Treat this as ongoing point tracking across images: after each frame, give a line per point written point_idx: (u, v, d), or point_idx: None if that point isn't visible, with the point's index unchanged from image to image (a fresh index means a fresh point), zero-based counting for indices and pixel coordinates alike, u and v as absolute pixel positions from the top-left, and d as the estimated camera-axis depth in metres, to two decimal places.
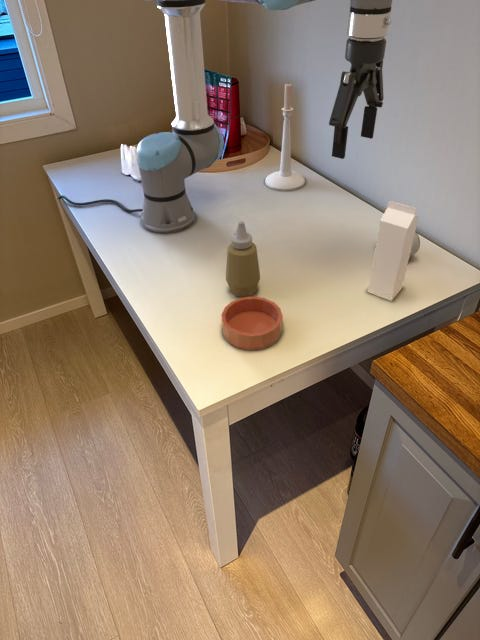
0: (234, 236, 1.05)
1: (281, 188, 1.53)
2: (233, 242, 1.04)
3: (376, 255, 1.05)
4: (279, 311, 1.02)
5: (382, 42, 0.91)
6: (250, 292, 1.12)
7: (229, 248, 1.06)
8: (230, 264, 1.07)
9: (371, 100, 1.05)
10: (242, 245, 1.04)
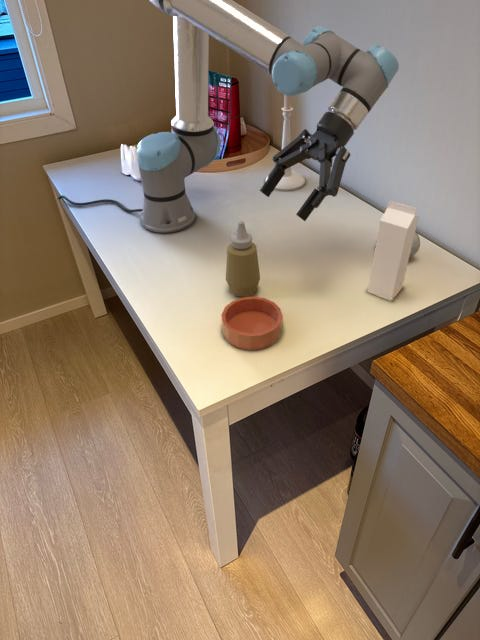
0: (234, 236, 1.05)
1: (281, 188, 1.53)
2: (233, 242, 1.04)
3: (376, 255, 1.05)
4: (279, 311, 1.02)
5: None
6: (250, 292, 1.12)
7: (229, 248, 1.06)
8: (230, 264, 1.07)
9: (287, 164, 1.09)
10: (242, 245, 1.04)
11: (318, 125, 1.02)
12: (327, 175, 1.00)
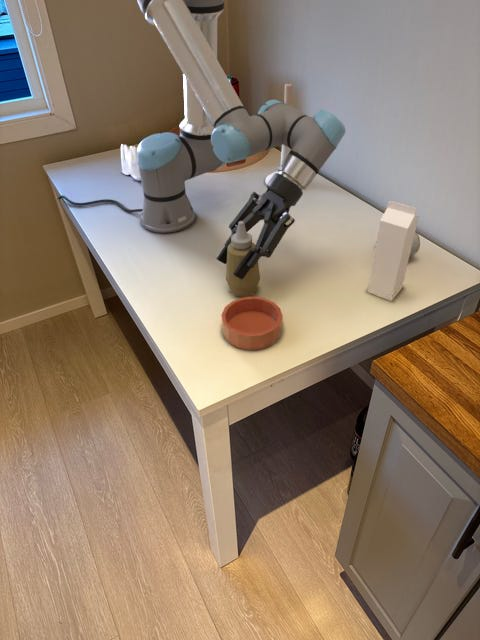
0: (234, 236, 1.05)
1: None
2: (233, 242, 1.04)
3: (376, 255, 1.05)
4: (279, 311, 1.02)
5: None
6: (250, 292, 1.12)
7: (229, 248, 1.06)
8: (230, 264, 1.07)
9: None
10: (242, 245, 1.04)
11: (267, 186, 1.03)
12: (266, 237, 1.04)
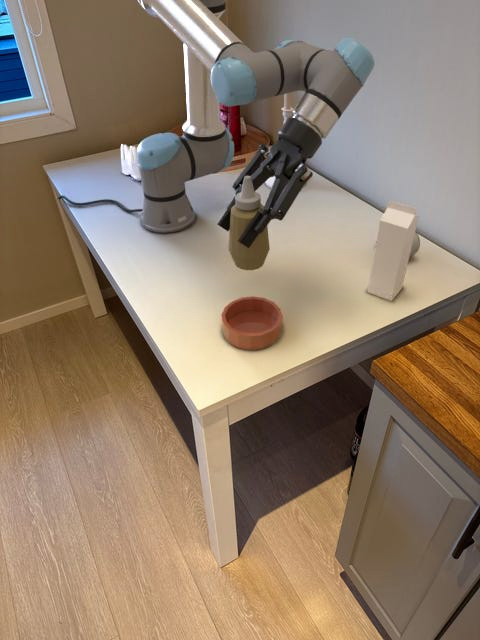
0: (239, 195, 0.87)
1: None
2: (238, 202, 0.86)
3: (376, 255, 1.05)
4: (279, 311, 1.02)
5: None
6: (258, 264, 0.93)
7: (233, 210, 0.88)
8: (233, 230, 0.89)
9: None
10: (249, 205, 0.86)
11: (279, 133, 0.85)
12: (277, 196, 0.85)
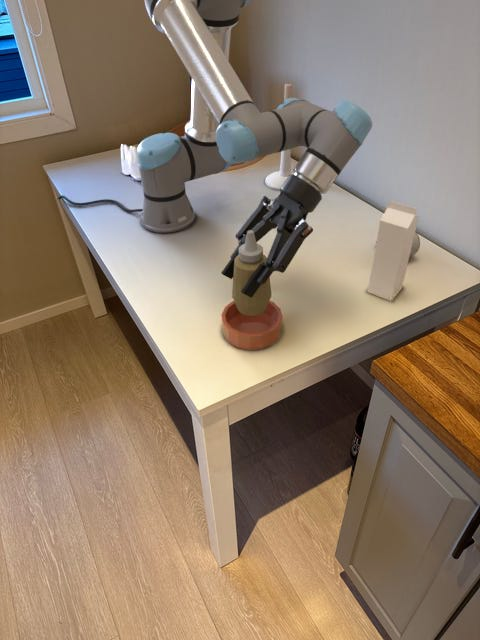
0: (242, 247, 0.91)
1: None
2: (241, 255, 0.90)
3: (376, 255, 1.05)
4: (279, 311, 1.02)
5: None
6: (260, 311, 0.97)
7: (236, 261, 0.92)
8: (237, 280, 0.93)
9: None
10: (252, 258, 0.89)
11: (281, 189, 0.89)
12: (279, 249, 0.89)
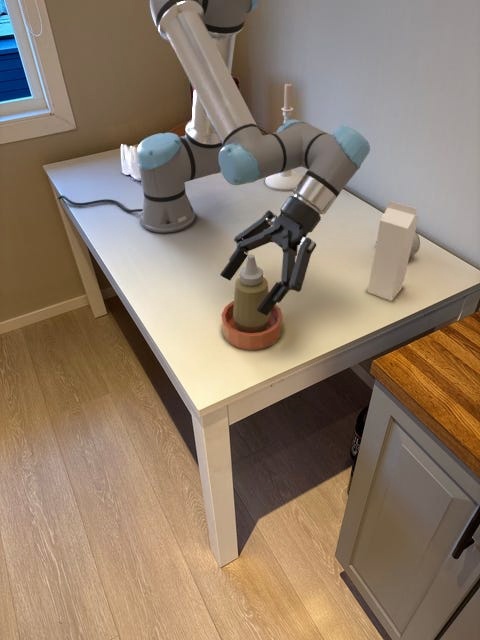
0: (243, 271, 0.94)
1: (281, 188, 1.53)
2: (242, 278, 0.93)
3: (376, 255, 1.05)
4: (279, 311, 1.02)
5: None
6: (260, 331, 1.01)
7: (237, 284, 0.95)
8: (238, 302, 0.96)
9: (250, 247, 0.99)
10: (252, 281, 0.93)
11: (281, 210, 0.92)
12: (290, 267, 0.91)
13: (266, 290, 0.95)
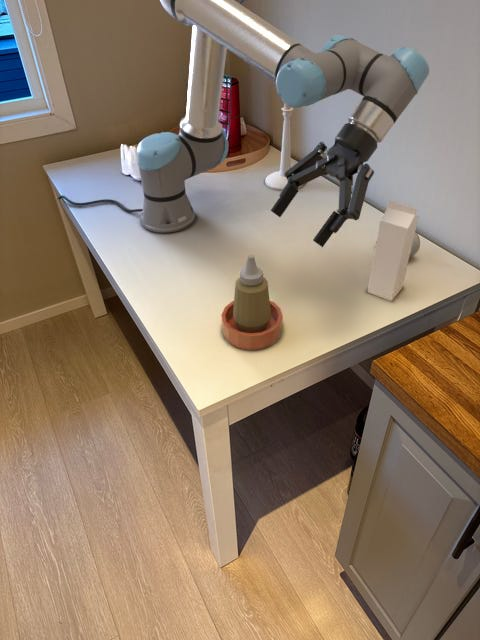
0: (243, 271, 0.94)
1: (281, 188, 1.53)
2: (242, 278, 0.93)
3: (376, 255, 1.05)
4: (279, 311, 1.02)
5: None
6: (260, 331, 1.01)
7: (237, 284, 0.95)
8: (238, 302, 0.96)
9: (301, 181, 0.97)
10: (252, 281, 0.93)
11: (337, 138, 0.90)
12: (347, 196, 0.89)
13: (266, 290, 0.95)
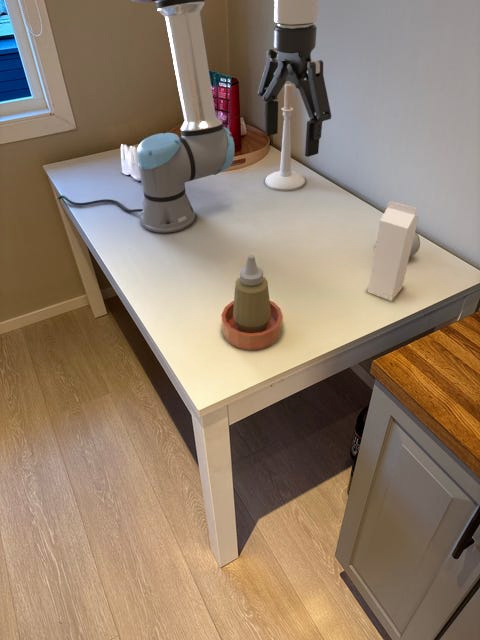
0: (243, 271, 0.94)
1: (281, 188, 1.53)
2: (242, 278, 0.93)
3: (376, 255, 1.05)
4: (279, 311, 1.02)
5: (312, 24, 0.86)
6: (260, 331, 1.01)
7: (237, 284, 0.95)
8: (238, 302, 0.96)
9: (274, 94, 0.98)
10: (252, 281, 0.93)
11: (275, 48, 0.87)
12: (311, 99, 0.88)
13: (266, 290, 0.95)
